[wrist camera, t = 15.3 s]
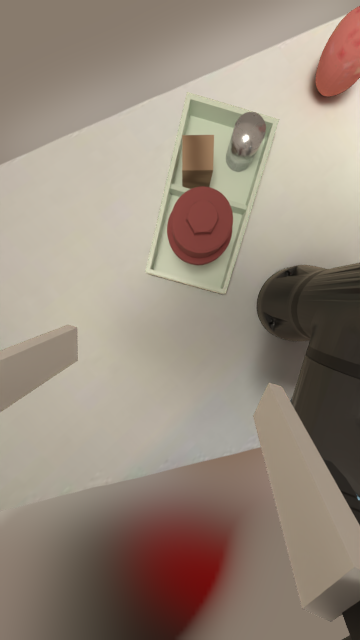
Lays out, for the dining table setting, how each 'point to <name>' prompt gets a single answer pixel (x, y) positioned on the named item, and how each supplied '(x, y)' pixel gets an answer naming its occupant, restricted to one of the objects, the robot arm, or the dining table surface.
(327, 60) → the apple
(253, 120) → the metal ellipsoid
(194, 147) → the walnut block
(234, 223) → the tray
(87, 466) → the dining table surface
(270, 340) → the dining table surface
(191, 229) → the mechanical component
